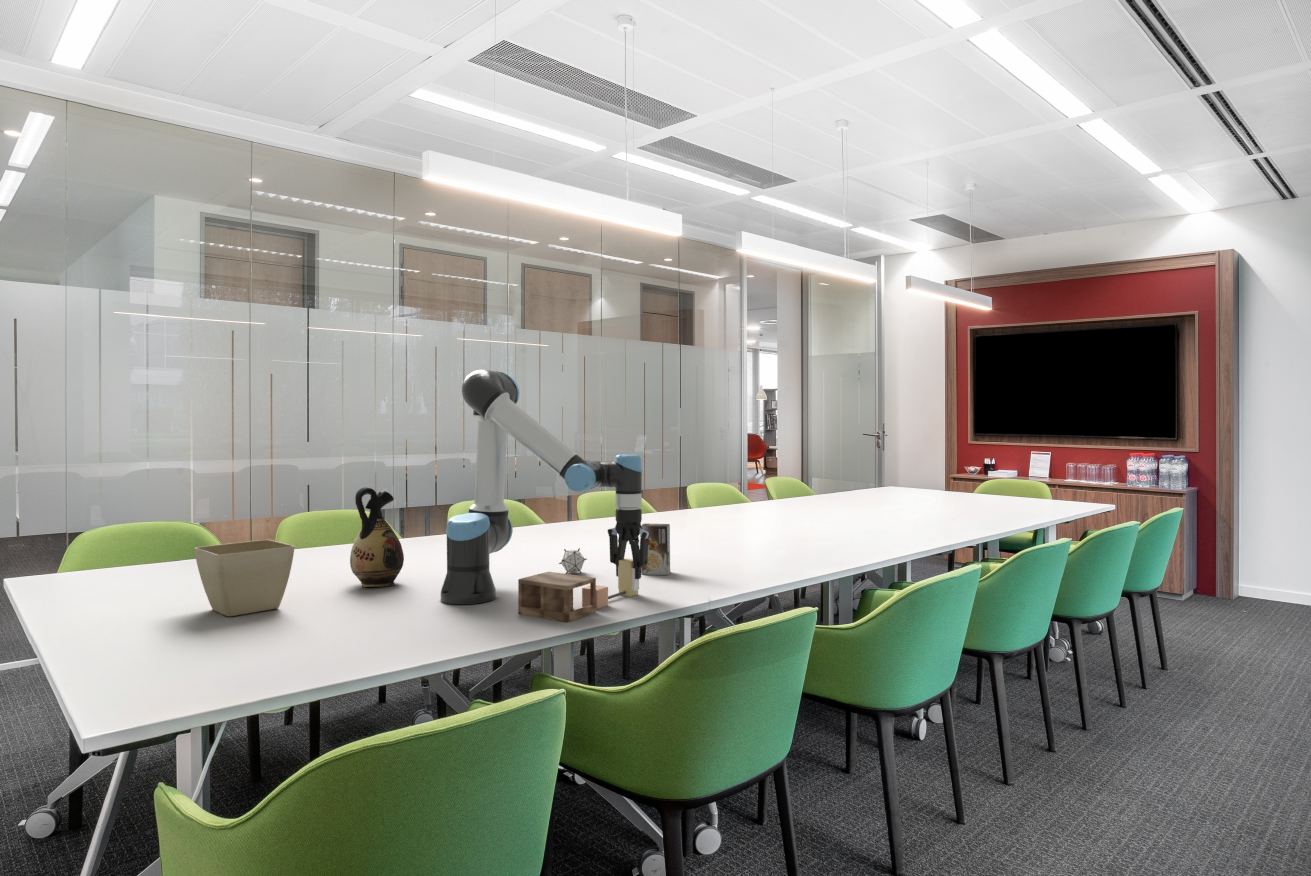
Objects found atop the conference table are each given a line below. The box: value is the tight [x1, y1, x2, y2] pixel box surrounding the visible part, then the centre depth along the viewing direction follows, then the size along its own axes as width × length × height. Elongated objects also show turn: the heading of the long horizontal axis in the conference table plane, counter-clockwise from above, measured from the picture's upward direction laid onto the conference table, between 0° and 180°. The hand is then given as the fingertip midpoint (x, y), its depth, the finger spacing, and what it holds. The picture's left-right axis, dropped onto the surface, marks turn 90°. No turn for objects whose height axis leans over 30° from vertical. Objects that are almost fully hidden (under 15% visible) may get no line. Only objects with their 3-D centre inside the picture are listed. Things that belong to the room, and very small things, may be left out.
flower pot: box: [193, 539, 296, 617], centre depth 204 cm, size 19×19×17 cm
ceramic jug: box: [349, 486, 405, 588], centre depth 234 cm, size 17×15×30 cm
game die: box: [558, 547, 588, 574], centre depth 253 cm, size 9×8×10 cm
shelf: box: [517, 571, 597, 623], centre depth 200 cm, size 12×16×9 cm
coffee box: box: [641, 523, 671, 576], centre depth 253 cm, size 9×6×16 cm
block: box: [581, 558, 639, 610], centre depth 214 cm, size 20×5×10 cm, turn 148°
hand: (628, 588), depth 222 cm, fingers closed on block, 4 cm apart
